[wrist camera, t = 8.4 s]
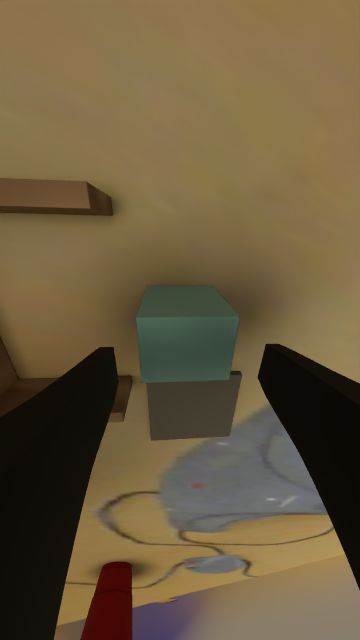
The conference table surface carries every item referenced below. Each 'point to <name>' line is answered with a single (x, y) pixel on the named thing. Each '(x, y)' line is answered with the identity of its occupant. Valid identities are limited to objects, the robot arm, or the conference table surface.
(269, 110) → the conference table surface
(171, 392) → the mat
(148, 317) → the block
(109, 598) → the plastic cup
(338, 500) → the robot arm
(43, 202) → the wooden fixture
